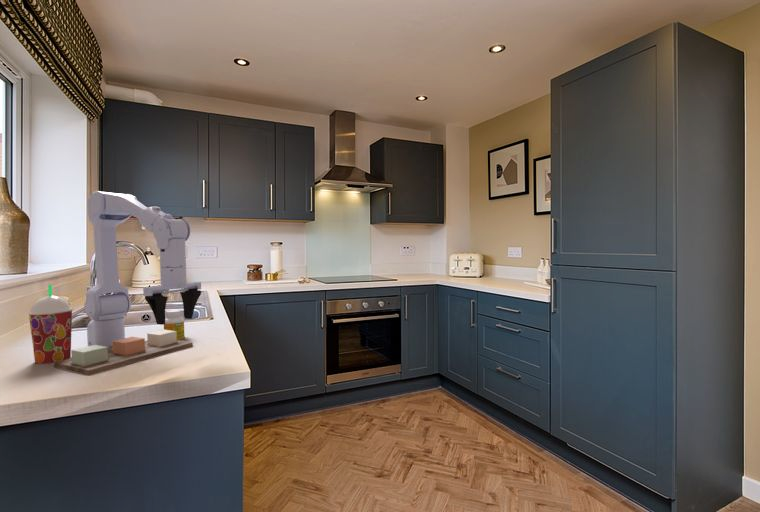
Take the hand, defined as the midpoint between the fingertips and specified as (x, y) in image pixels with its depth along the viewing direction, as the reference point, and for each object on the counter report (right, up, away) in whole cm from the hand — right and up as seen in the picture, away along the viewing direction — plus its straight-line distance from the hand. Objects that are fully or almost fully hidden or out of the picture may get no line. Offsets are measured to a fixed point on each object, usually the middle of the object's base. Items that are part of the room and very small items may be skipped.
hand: (175, 321), depth 100 cm
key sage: (-16, -9, -7) cm, 20 cm away
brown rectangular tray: (-12, -10, +1) cm, 16 cm away
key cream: (-8, -8, +9) cm, 15 cm away
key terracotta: (-12, -9, +1) cm, 15 cm away
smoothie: (-29, -11, -2) cm, 31 cm away
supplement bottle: (-10, -10, +19) cm, 23 cm away
